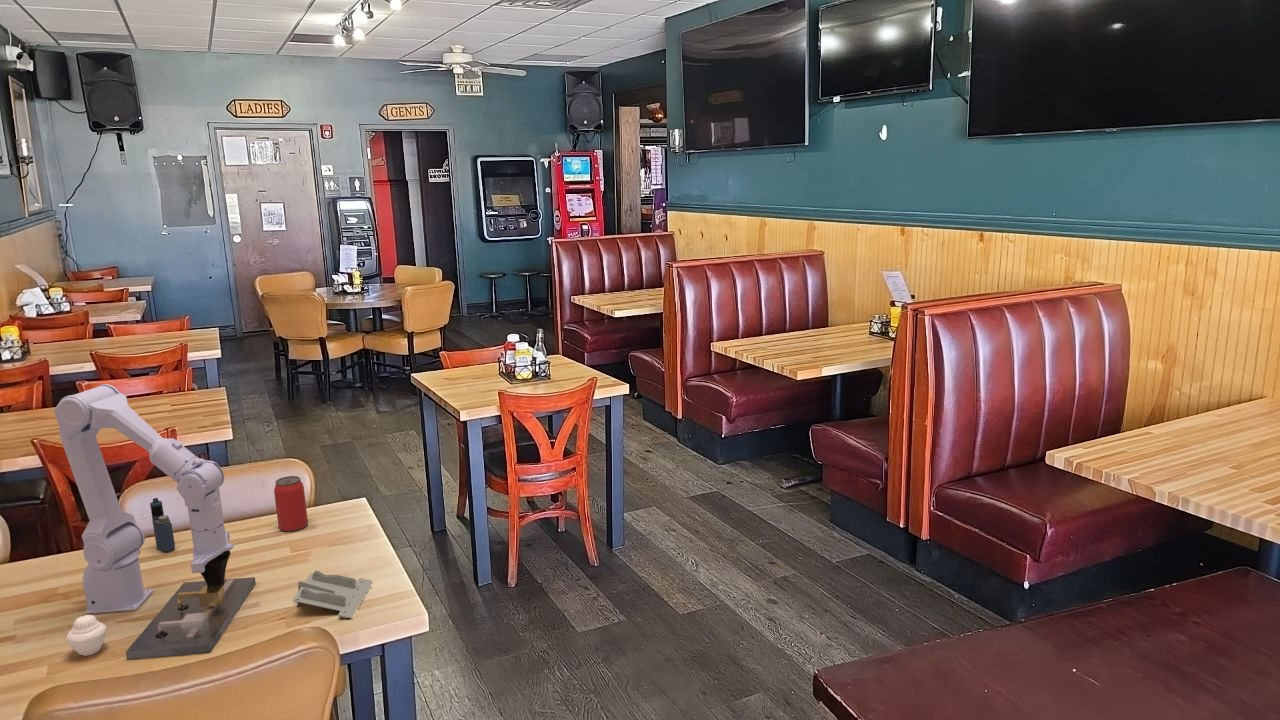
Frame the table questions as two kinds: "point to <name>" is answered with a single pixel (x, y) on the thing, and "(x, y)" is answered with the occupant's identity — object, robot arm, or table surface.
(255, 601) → the table surface
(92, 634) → the muffin
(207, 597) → the brass slider
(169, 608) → the plate
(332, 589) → the metal bracket
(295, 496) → the beer can
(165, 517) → the vaping device
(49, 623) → the table surface
